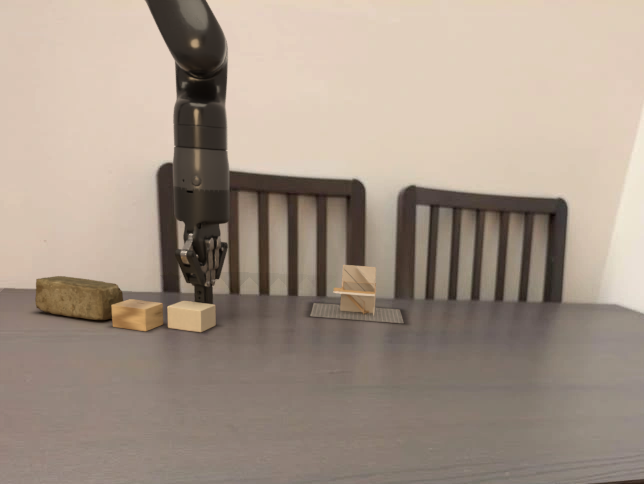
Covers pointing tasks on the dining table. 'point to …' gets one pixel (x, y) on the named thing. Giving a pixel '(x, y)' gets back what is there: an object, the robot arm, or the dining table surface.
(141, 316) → the birch block
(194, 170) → the robot arm
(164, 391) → the dining table surface
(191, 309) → the cream block
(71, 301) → the stone block
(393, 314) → the architectural model
